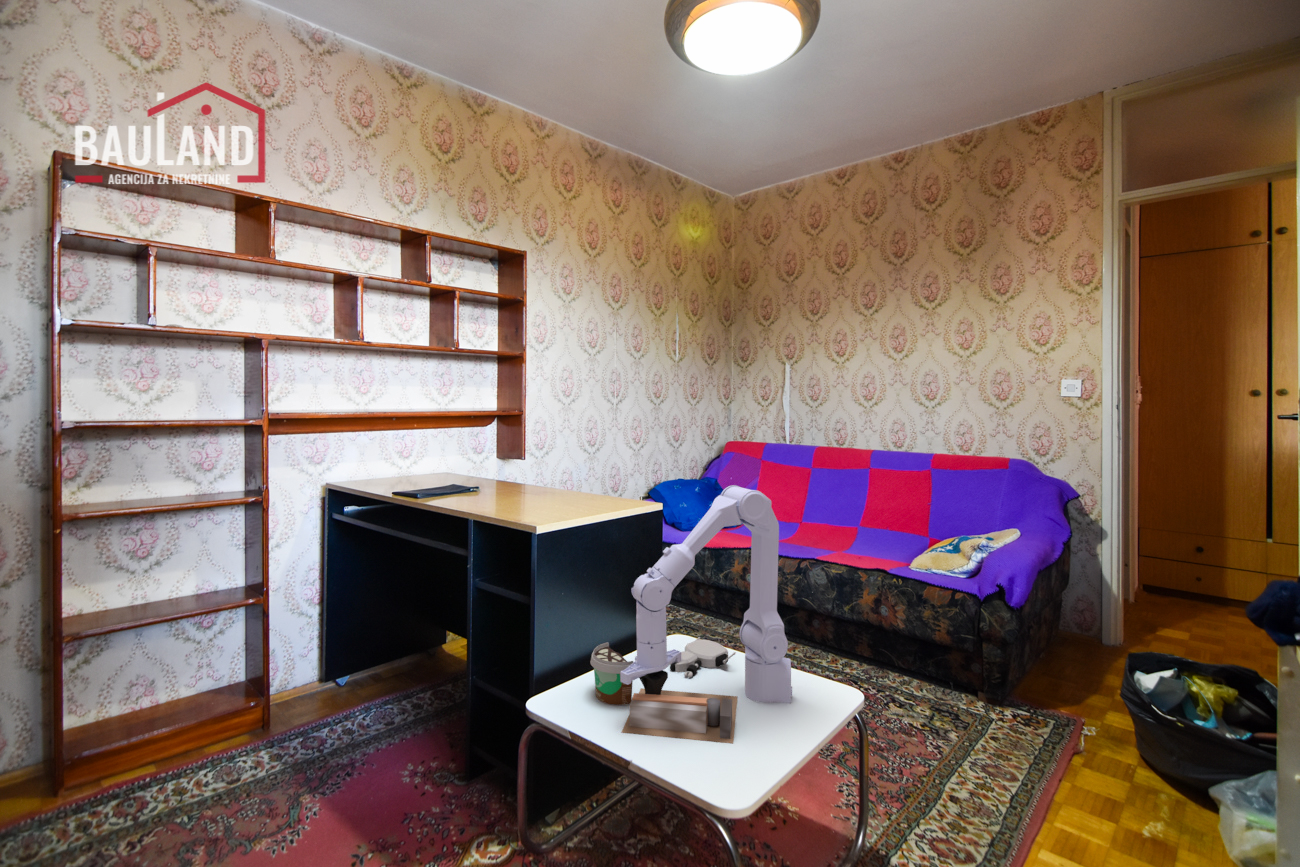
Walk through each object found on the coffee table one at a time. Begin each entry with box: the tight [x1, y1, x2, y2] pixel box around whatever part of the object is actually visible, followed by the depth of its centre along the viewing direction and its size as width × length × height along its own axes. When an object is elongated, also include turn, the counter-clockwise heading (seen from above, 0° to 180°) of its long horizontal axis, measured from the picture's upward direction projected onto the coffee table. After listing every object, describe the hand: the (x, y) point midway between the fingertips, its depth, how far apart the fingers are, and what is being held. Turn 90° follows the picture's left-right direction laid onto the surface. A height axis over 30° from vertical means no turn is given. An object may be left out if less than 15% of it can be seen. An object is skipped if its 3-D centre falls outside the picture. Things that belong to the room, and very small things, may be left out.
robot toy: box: [669, 636, 737, 678], centre depth 141 cm, size 12×4×15 cm
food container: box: [589, 642, 634, 706], centre depth 124 cm, size 12×6×10 cm, turn 29°
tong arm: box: [632, 692, 720, 726], centre depth 114 cm, size 16×3×4 cm, turn 81°
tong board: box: [620, 687, 739, 745], centre depth 117 cm, size 20×18×5 cm
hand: (652, 708), depth 118 cm, fingers closed, pressing on tong arm
